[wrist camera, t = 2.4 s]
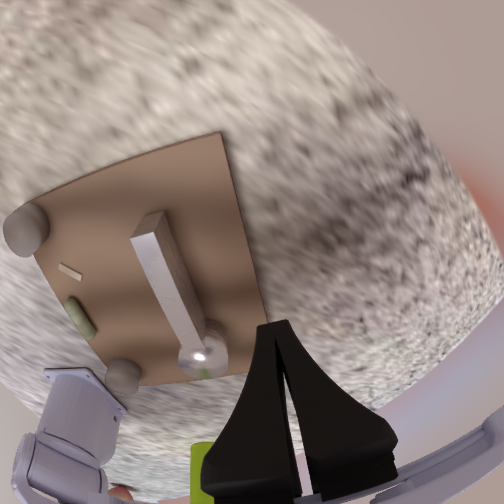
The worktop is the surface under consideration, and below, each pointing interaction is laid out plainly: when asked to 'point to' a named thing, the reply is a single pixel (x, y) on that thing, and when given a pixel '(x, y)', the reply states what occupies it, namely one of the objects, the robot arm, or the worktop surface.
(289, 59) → the worktop surface
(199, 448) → the soap dispenser
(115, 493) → the decorative fruit
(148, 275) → the lever handle
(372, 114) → the worktop surface
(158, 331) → the brown latch board
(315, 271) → the worktop surface
